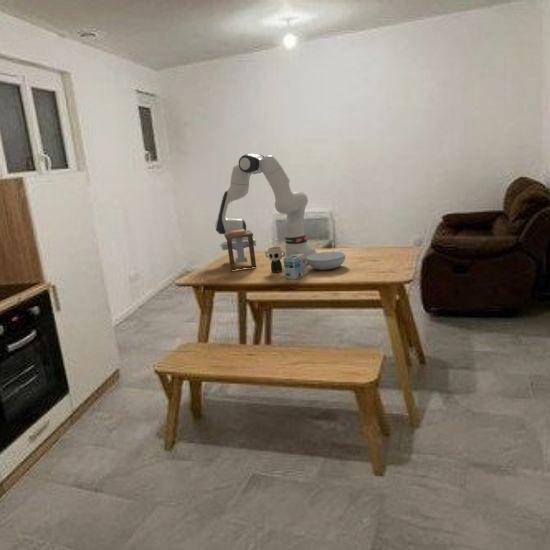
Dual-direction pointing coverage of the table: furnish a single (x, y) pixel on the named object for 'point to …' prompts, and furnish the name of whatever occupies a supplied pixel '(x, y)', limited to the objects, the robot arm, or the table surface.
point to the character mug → (275, 258)
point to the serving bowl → (326, 260)
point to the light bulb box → (295, 266)
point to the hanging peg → (239, 245)
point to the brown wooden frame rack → (230, 250)
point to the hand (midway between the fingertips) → (239, 246)
